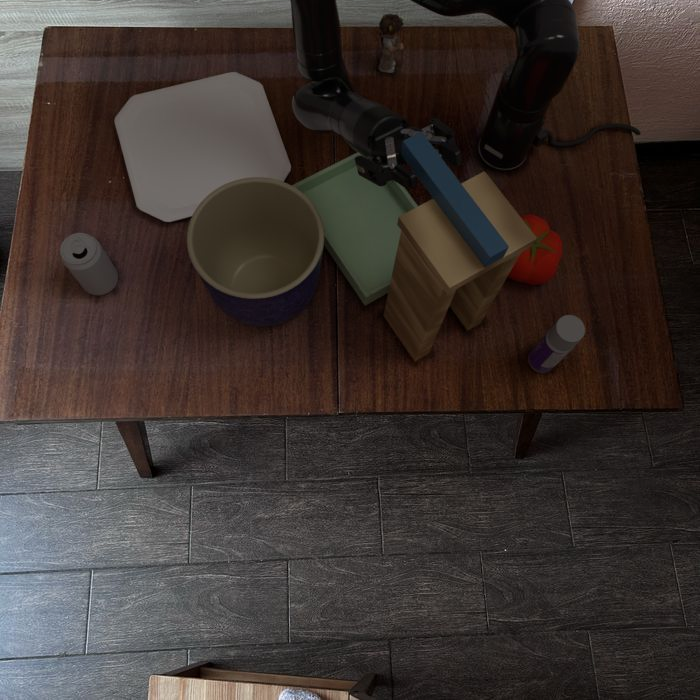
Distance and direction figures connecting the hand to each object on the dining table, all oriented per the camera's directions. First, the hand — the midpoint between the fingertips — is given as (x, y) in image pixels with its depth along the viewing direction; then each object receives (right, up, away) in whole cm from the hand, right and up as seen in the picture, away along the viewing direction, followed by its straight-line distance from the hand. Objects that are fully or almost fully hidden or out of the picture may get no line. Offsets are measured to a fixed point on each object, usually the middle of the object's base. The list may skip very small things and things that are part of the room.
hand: (436, 170), depth 91 cm
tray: (-8, -1, +36) cm, 37 cm away
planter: (-26, -13, +32) cm, 43 cm away
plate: (-39, +14, +41) cm, 58 cm away
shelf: (+3, -18, +30) cm, 36 cm away
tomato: (+20, -8, +35) cm, 41 cm away
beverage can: (-55, -11, +31) cm, 64 cm away
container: (+22, -25, +29) cm, 44 cm away
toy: (-4, +33, +49) cm, 59 cm away
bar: (+2, -4, +1) cm, 5 cm away
